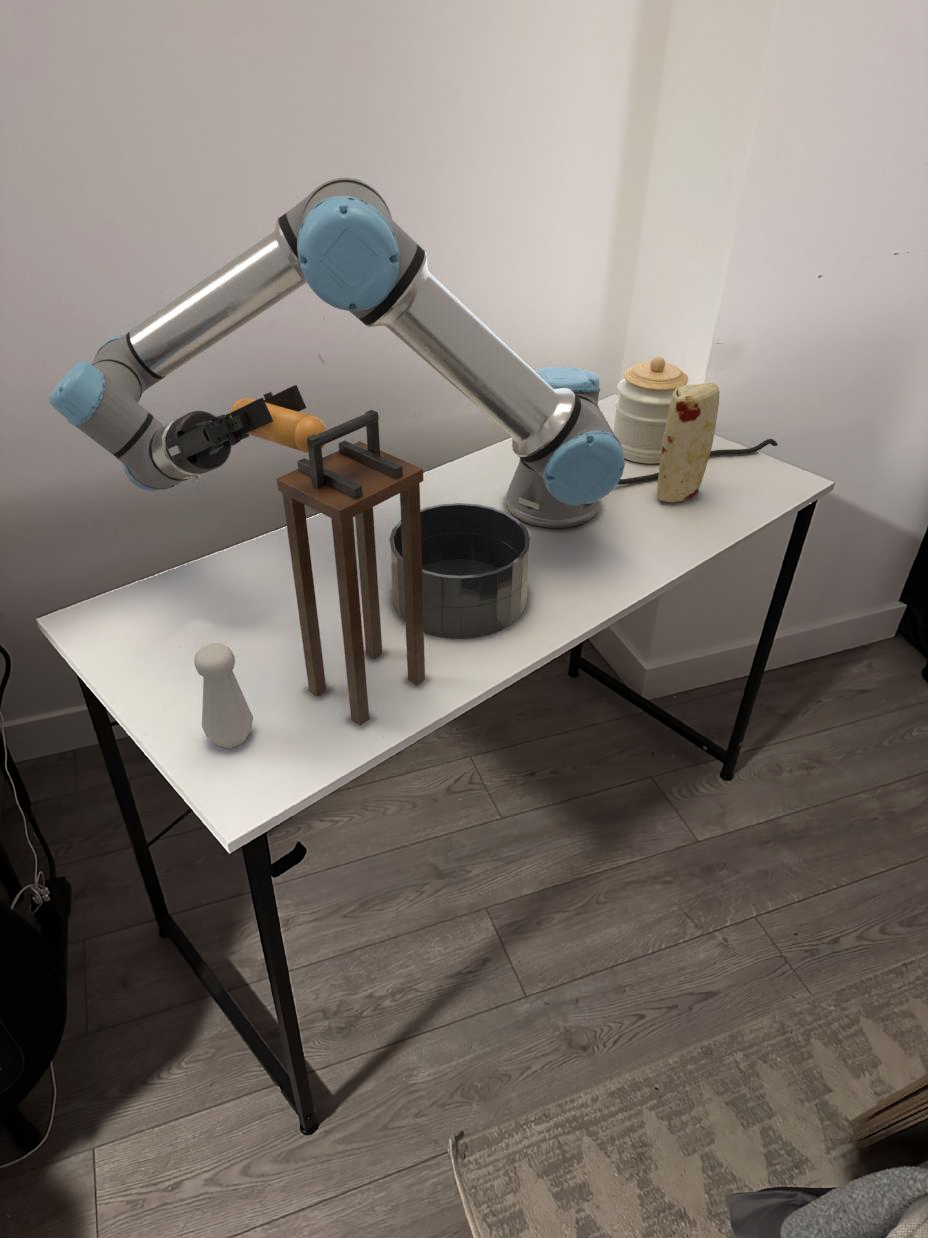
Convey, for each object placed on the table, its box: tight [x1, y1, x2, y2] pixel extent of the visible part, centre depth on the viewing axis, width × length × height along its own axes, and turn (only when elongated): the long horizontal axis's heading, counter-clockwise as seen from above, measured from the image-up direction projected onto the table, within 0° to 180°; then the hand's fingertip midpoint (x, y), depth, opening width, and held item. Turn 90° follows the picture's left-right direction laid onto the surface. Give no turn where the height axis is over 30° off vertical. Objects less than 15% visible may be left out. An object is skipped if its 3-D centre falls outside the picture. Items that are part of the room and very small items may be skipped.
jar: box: [612, 356, 689, 465], centre depth 160 cm, size 13×13×18 cm
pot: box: [388, 502, 531, 640], centre depth 124 cm, size 19×19×10 cm
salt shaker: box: [193, 642, 254, 750], centre depth 101 cm, size 6×6×13 cm
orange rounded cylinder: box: [229, 397, 328, 454], centre depth 99 cm, size 15×4×4 cm, turn 48°
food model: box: [657, 382, 720, 503], centre depth 145 cm, size 10×7×20 cm
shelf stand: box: [275, 409, 426, 726], centre depth 101 cm, size 10×12×36 cm
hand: (282, 403), depth 97 cm, fingers closed on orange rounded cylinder, 4 cm apart
